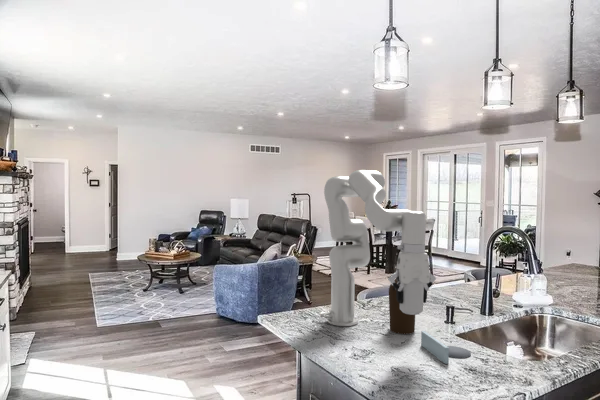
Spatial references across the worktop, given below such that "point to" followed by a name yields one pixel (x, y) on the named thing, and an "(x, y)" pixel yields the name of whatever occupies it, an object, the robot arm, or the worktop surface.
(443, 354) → the acrylic wall
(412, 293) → the can
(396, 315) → the olive oil
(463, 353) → the coaster
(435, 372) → the worktop surface
